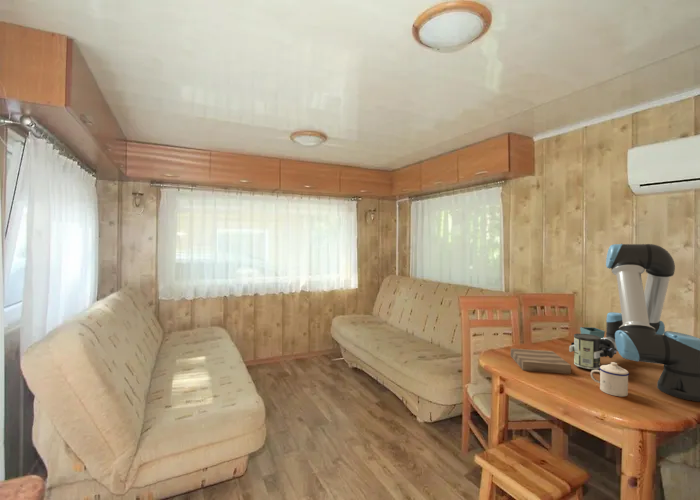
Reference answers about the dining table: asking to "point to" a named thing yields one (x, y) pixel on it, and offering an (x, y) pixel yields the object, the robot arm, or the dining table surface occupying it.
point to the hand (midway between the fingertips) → (582, 352)
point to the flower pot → (592, 331)
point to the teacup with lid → (613, 379)
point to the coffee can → (586, 351)
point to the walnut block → (540, 361)
